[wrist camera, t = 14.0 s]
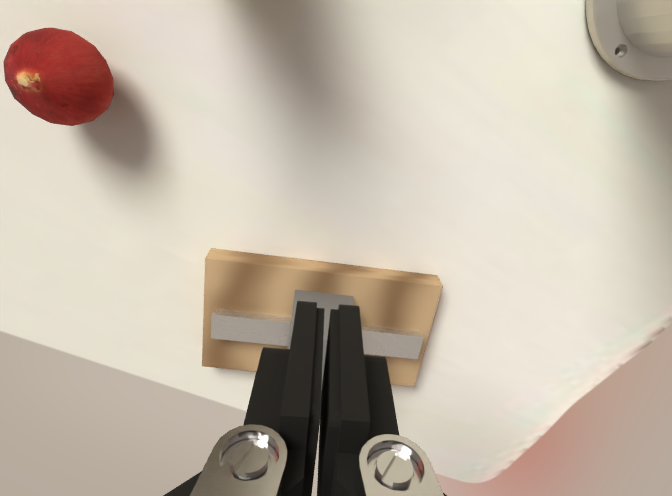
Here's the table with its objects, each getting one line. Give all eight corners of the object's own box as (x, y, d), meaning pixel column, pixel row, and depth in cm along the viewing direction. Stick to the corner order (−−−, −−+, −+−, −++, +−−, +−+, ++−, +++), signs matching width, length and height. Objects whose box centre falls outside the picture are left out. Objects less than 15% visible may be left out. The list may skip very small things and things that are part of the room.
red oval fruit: (70, 125, 32) (-3, 144, 25) (32, 42, 30) (-60, 37, 23) (144, 108, 32) (91, 122, 25) (111, 23, 30) (43, 11, 22)
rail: (420, 326, 38) (423, 336, 37) (414, 348, 39) (417, 359, 38) (215, 304, 37) (211, 314, 35) (214, 328, 38) (210, 338, 36)
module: (353, 296, 37) (359, 343, 31) (339, 366, 40) (343, 422, 34) (295, 289, 36) (289, 336, 30) (285, 361, 39) (279, 417, 33)
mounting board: (437, 275, 38) (442, 286, 37) (410, 372, 43) (414, 386, 41) (210, 248, 37) (205, 258, 35) (207, 352, 41) (202, 366, 39)
